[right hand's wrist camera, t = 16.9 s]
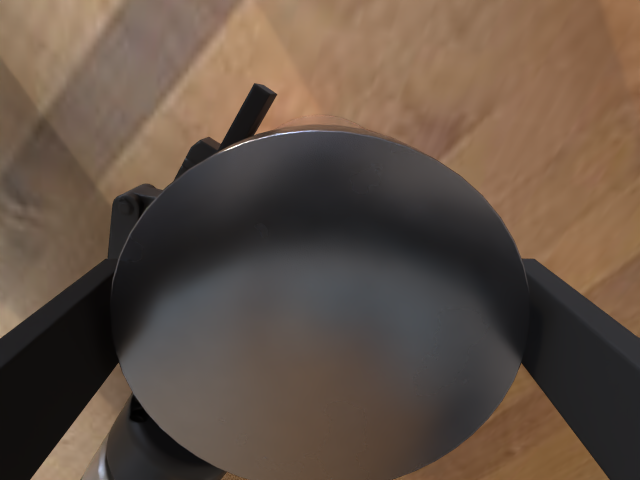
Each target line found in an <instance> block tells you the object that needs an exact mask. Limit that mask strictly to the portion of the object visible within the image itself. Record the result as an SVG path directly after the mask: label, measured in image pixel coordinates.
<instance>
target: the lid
mask: <svg viewBox="0 0 640 480" xmlns="http://www.w3.org/2000/svg"><path fill="white" fill-rule="evenodd" d="M110 324H111V333H112V338H113V343H114V348H115V352H116V355H117V358H118V361H119V364H120V367H121V369H122V372H123V375H124V376H125V378H126V380H127V382H128V384H129V386H130V388H131V390H132V392H133V394H134V395H135V397H136V398H137V399H138V401H139V402H140V404H141V405H142V407H143V408H144V409H145V411H146V412H147V413H148V414H149V416H150V417H151V418H152V419H153V420H154V421H155V422H156V423H157V424H158V426H159V427H160V428H161V429H162V430H163V431H165V432H166V433H167V434H168V435H169V436H170V437H171V438H173V439H174V440H175V441H176V442H177V443H178V444H180V445H181V446H183V447H184V448H185V449H187V450H188V451H190V452H191V453H193V454H194V455H196V456H197V457H199V458H201V459H202V460H204V461H206V462H208V463H210V464H212V465H213V466H215V467H217V468H220V469H222V470H224V471H227V472H229V473H231V474H234V475H236V476H239V477H242V478H245V479H249V480H392V479H395V478H398V477H401V476H403V475H406V474H409V473H411V472H414V471H416V470H418V469H420V468H422V467H424V466H426V465H428V464H430V463H432V462H435V461H436V460H438V459H439V458H441V457H443V456H444V455H446V454H447V453H449V452H451V451H452V450H454V449H455V448H456V447H458V446H459V445H460V444H461V443H463V442H464V441H465V440H466V439H468V438H469V437H470V436H471V435H473V434H474V433H475V432H476V431H477V430H478V429H479V428H480V427H481V426H482V425H483V424H484V423H485V421H486V420H487V419H488V418H489V417H490V416H491V415H492V413H493V412H494V411H495V409H496V408H497V407H498V406H499V404H500V403H501V402H502V400H503V398H504V397H505V395H506V393H507V392H508V390H509V388H510V387H511V385H512V383H513V381H514V379H515V377H516V374H517V372H518V369H519V367H520V365H521V362H522V360H523V356H524V352H525V348H526V344H527V340H528V334H529V324H530V296H529V287H528V282H527V277H526V273H525V268H524V264H523V262H522V259H521V256H520V254H519V251H518V249H517V246H516V244H515V241H514V239H513V238H512V236H511V234H510V232H509V231H508V229H507V227H506V226H505V224H504V222H503V221H502V219H501V217H500V216H499V215H498V214H497V212H496V211H495V210H494V209H493V207H492V206H491V205H490V204H489V203H488V201H487V200H486V199H485V198H484V197H483V195H481V194H480V193H479V192H478V191H477V190H476V189H475V188H474V187H473V186H471V185H470V184H469V183H468V182H467V181H466V180H465V179H464V178H463V177H461V176H460V175H459V174H457V173H456V172H454V171H453V170H451V169H450V168H448V167H446V166H445V165H443V164H442V163H440V162H439V161H437V160H436V159H434V158H432V157H430V156H429V155H427V154H425V153H423V152H421V151H419V150H418V149H416V148H414V147H411V146H409V145H407V144H405V143H403V142H401V141H399V140H397V139H394V138H392V137H389V136H386V135H383V134H379V133H376V132H373V131H370V130H366V129H360V128H354V127H348V126H342V125H319V124H310V125H301V126H292V127H283V128H280V129H276V130H272V131H268V132H264V133H260V134H256V135H254V136H252V137H249V138H247V139H244V140H242V141H239V142H237V143H234V144H232V145H230V146H228V147H227V148H225V149H223V150H221V151H219V152H217V153H216V154H214V155H212V156H210V157H209V158H207V159H205V160H204V161H202V162H200V163H198V164H197V165H195V166H193V167H192V168H190V169H188V170H187V171H186V172H185V173H183V174H182V175H181V176H180V177H178V178H177V179H176V180H175V181H173V182H172V183H171V184H170V185H168V186H167V187H166V188H165V189H164V190H163V191H162V192H161V193H160V194H159V195H158V196H157V197H156V198H155V200H154V201H153V202H152V203H151V204H150V205H149V206H148V207H147V208H146V209H145V211H144V212H143V214H142V215H141V217H140V218H139V220H138V221H137V223H136V224H135V226H134V227H133V229H132V230H131V232H130V234H129V236H128V238H127V240H126V243H125V245H124V247H123V249H122V251H121V253H120V256H119V259H118V263H117V266H116V270H115V273H114V277H113V281H112V290H111V298H110Z"/></svg>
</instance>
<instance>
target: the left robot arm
mask: <svg viewBox="0 0 640 480" xmlns="http://www.w3.org/2000/svg"><path fill="white" fill-rule="evenodd" d="M276 96H277V94H276V93H275V92H273V91H272V90H270V89H269V88H267V87H266V86H264V85H261V84H256V83H254V85H253V87H252V89H251V90H250V92H249V94H248V96H247V98H246V99H245V101H244V103H243V105H242V107H241V109H240V110H239V112H238V114H237V116H236V118H235V120H234V121H233V123H232V125H231V127H230V129H229V131H228V132H227V134H226V136H225V138H224V140H223V142H222V143H221V144H220V143H218V142H216V141H215V140H213V139H212V138H210V137H207V138H204V139H201V140H200V141H198V142H197V143H196V144H194V145H193V146H192V147H191V148H190V150H189V152H188V154H187V156H186V158H185V160H184V162H183V164H182V166H181V168H180V169H179V171H178V173H177V175H176V177H175V179H174V181H175V180H176V179H177V178H178V177H180V176H181V175H182V174H183V173H185V172H186V171H187V170H188V169H190V168H192V167H193V166H195V165H197V164H198V163H200V162H202V161H204V160H205V159H207V158H209V157H210V156H212V155H214V154H216V153H217V152H219V151H221V150H223V149H225V148H227V147H228V146H230V145H232V144H234V143H237V142H239V141H242V140H244V139H247V138H249V137H252V136H254V134H255V132H256V131H257V129H258V127H259V125H260V124H261V122H262V120H263V118H264V117H265V115H266V113H267V111H268V110H269V108H270V106H271V104H272V103H273V101H274V99H275V97H276ZM162 191H163V190H160V189H156V188H155V187H154V186H152V185H150V184H142V185H140V186H138V187H136V188H134V189H132V190H130V191H128V192H126V193H124V194H122V195H120V196H117V197H116V198H115V199H114V201H113V204H112V215H111V226H110V237H109V248H108V259H119V256H120V253H121V251H122V249H123V247H124V245H125V243H126V240H127V238H128V236H129V234H130V232H131V230H132V229H133V227H134V226H135V224H136V223H137V221H138V220H139V218H140V217H141V215H142V214H143V212H144V211H145V209H146V208H147V207H148V206H149V205H150V204H151V203H152V202H153V201H154V200H155V198H156V197H157V196H158V195H159V194H160V193H161V192H162ZM226 472H227V471H224V470H222V469H220V468H217V467H215V466H213V465H212V464H210V463H208V462H206V461H204V460H202V459H201V458H199V457H197V456H196V455H194V454H193V453H191V452H190V451H188V450H187V449H185V448H184V447H183V446H181V445H180V444H178V443H177V442H176V441H175V440H174V439H173V438H171V437H170V436H169V435H168V434H167V433H166V432H165V431H163V430H162V429H161V428H160V427H159V426H158V424H157V423H156V422H155V421H154V420H153V419H152V418H151V417H150V416H149V414H148V413H147V412H146V411H145V409H144V408H143V407H142V405H141V404H140V402H139V401H138V399H137V398H136V397H135V395H134V394H133V392H132V394H131V396H130V397H129V399H128V401H127V402H126V404H125V405H124V407H123V409H122V410H121V412H120V414H119V415H118V417H117V419H116V420H115V422H114V424H113V426H112V428H111V430H110V431H109V433H108V435H107V436H106V438H105V439H104V441H103V442H102V444H101V446H100V447H99V449H98V450H97V452H96V454H95V455H94V457H93V459H92V460H91V462H90V464H89V465H88V467H87V468H86V470H85V472H84V475H83V477H82V478H81V480H221V479H222V477H223V476H224V475H225V474H226Z"/></svg>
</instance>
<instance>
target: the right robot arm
mask: <svg viewBox="0 0 640 480" xmlns="http://www.w3.org/2000/svg"><path fill="white" fill-rule="evenodd" d="M522 262H523V264H524V268H525V273H526V277H527V282H528V287H529V296H530V324H529V334H528V340H527V344H526V348H525V352H524V356H523V360H522V362H521V363H522V364H523V365H524V367H525V368H526V369H527V371H528V372H529V373H530V375H531V376H532V377H533V379H534V380H535V381H536V383H537V384H538V385H539V387H540V388H541V389H542V391H543V392H544V393H545V395H546V396H547V397H548V399H549V400H550V401H551V402H552V404H553V405H554V406H555V408H556V409H557V410H558V412H559V413H560V414H561V416H562V417H563V418H564V420H565V421H566V422H567V424H568V425H569V426H570V428H571V429H572V430H573V432H574V433H575V434H576V436H577V437H578V438H579V439H580V441H581V442H582V443H583V445H584V446H585V447H586V449H587V450H588V451H589V453H590V454H591V455H592V457H593V458H594V459H595V461H596V462H597V463H598V465H599V466H600V467H601V469H602V470H603V471H604V473H605V474H606V475H607V476H608V478H609V479H610V480H640V338H638V337H637V336H636V335H634V334H633V333H632V332H630V331H629V330H628V329H626V328H625V327H624V326H622V325H621V324H620V323H618V322H617V321H616V320H614V319H613V318H612V317H610V316H609V315H608V314H606V313H605V312H604V311H603V310H601V309H600V308H599V307H597V306H596V305H595V304H593V303H592V302H591V301H589V300H588V299H587V298H585V297H584V296H583V295H581V294H580V293H579V292H577V291H576V290H575V289H573V288H572V287H571V286H569V285H568V284H567V283H566V282H564V281H563V280H562V279H560V278H559V277H558V276H556V275H555V274H554V273H552V272H551V271H550V270H548V269H547V268H546V267H544V266H543V265H542V264H540V263H539V262H538V261H536V260H535V259H522ZM117 263H118V259H105V260H104V261H102V262H101V263H100V264H98V265H97V266H96V267H94V268H93V269H92V270H90V271H89V272H88V273H86V274H85V275H84V276H82V277H81V278H80V279H78V280H77V281H76V282H74V283H73V284H72V285H71V286H69V287H68V288H67V289H65V290H64V291H63V292H61V293H60V294H59V295H57V296H56V297H55V298H53V299H52V300H51V301H49V302H48V303H47V304H45V305H44V306H43V307H41V308H40V309H39V310H37V311H36V312H35V313H34V314H32V315H31V316H30V317H28V318H27V319H26V320H24V321H23V322H22V323H20V324H19V325H18V326H16V327H15V328H14V329H12V330H11V331H10V332H8V333H7V334H6V335H4V336H3V337H2V338H1V339H0V480H30V479H31V478H32V476H33V475H34V474H35V473H36V471H37V470H38V469H39V467H40V466H41V465H42V463H43V462H44V461H45V459H46V458H47V457H48V455H49V454H50V453H51V451H52V450H53V449H54V447H55V446H56V445H57V443H58V442H59V441H60V439H61V438H62V437H63V436H64V434H65V433H66V432H67V430H68V429H69V428H70V426H71V425H72V424H73V422H74V421H75V420H76V418H77V417H78V416H79V414H80V413H81V412H82V410H83V409H84V408H85V406H86V405H87V404H88V402H89V401H90V400H91V399H92V397H93V396H94V395H95V393H96V392H97V391H98V389H99V388H100V387H101V385H102V384H103V383H104V381H105V380H106V379H107V377H108V376H109V375H110V373H111V372H112V371H113V369H114V368H115V367H116V365H117V364H118V363H119V361H118V358H117V355H116V352H115V348H114V343H113V338H112V333H111V324H110V298H111V290H112V281H113V277H114V273H115V270H116V266H117Z"/></svg>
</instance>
